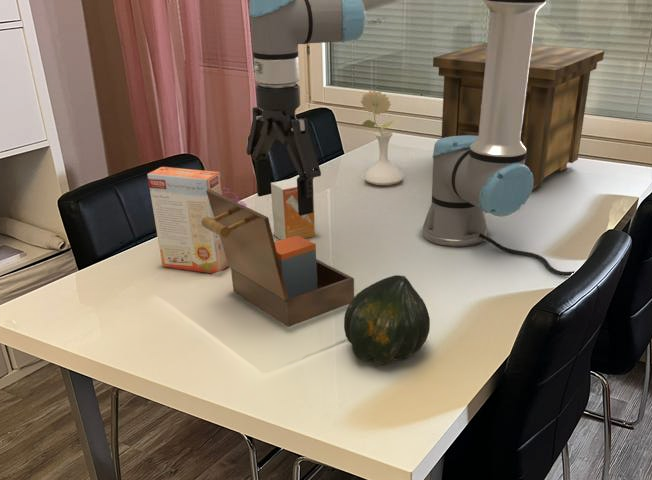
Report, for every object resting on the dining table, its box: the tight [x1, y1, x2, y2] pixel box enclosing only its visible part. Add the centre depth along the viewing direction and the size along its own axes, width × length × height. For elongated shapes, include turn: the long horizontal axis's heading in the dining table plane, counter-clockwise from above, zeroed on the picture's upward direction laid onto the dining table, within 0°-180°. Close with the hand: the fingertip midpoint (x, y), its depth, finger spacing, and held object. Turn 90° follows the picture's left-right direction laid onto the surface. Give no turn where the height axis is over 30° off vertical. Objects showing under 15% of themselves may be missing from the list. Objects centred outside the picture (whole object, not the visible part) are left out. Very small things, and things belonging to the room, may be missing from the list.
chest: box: [230, 258, 355, 327], centre depth 142 cm, size 16×20×6 cm
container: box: [274, 235, 318, 300], centre depth 141 cm, size 8×6×11 cm
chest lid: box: [202, 189, 288, 301], centre depth 130 cm, size 16×20×6 cm
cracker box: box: [146, 166, 229, 275], centre depth 153 cm, size 14×6×21 cm, turn 71°
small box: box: [270, 177, 316, 240], centre depth 169 cm, size 8×6×13 cm
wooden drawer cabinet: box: [432, 42, 605, 191], centre depth 207 cm, size 35×35×33 cm
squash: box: [343, 274, 431, 365], centre depth 123 cm, size 14×15×15 cm
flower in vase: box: [360, 90, 404, 186], centre depth 201 cm, size 13×11×25 cm
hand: (284, 204), depth 134 cm, fingers open, 13 cm apart
